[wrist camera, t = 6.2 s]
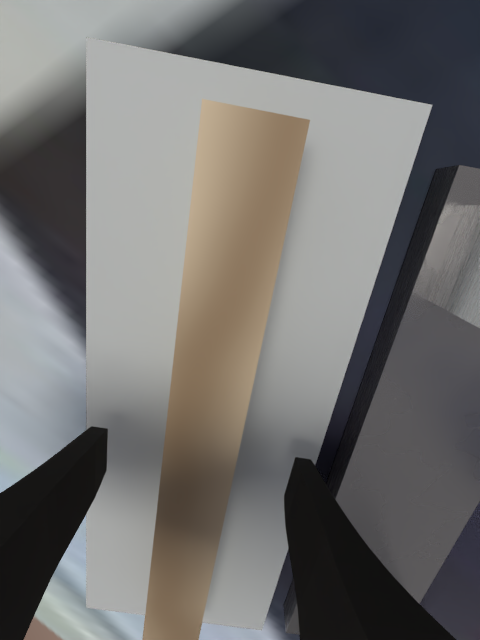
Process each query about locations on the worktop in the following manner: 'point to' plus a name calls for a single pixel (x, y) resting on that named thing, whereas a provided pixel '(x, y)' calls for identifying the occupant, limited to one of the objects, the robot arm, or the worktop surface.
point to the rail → (217, 345)
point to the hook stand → (419, 400)
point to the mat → (165, 289)
